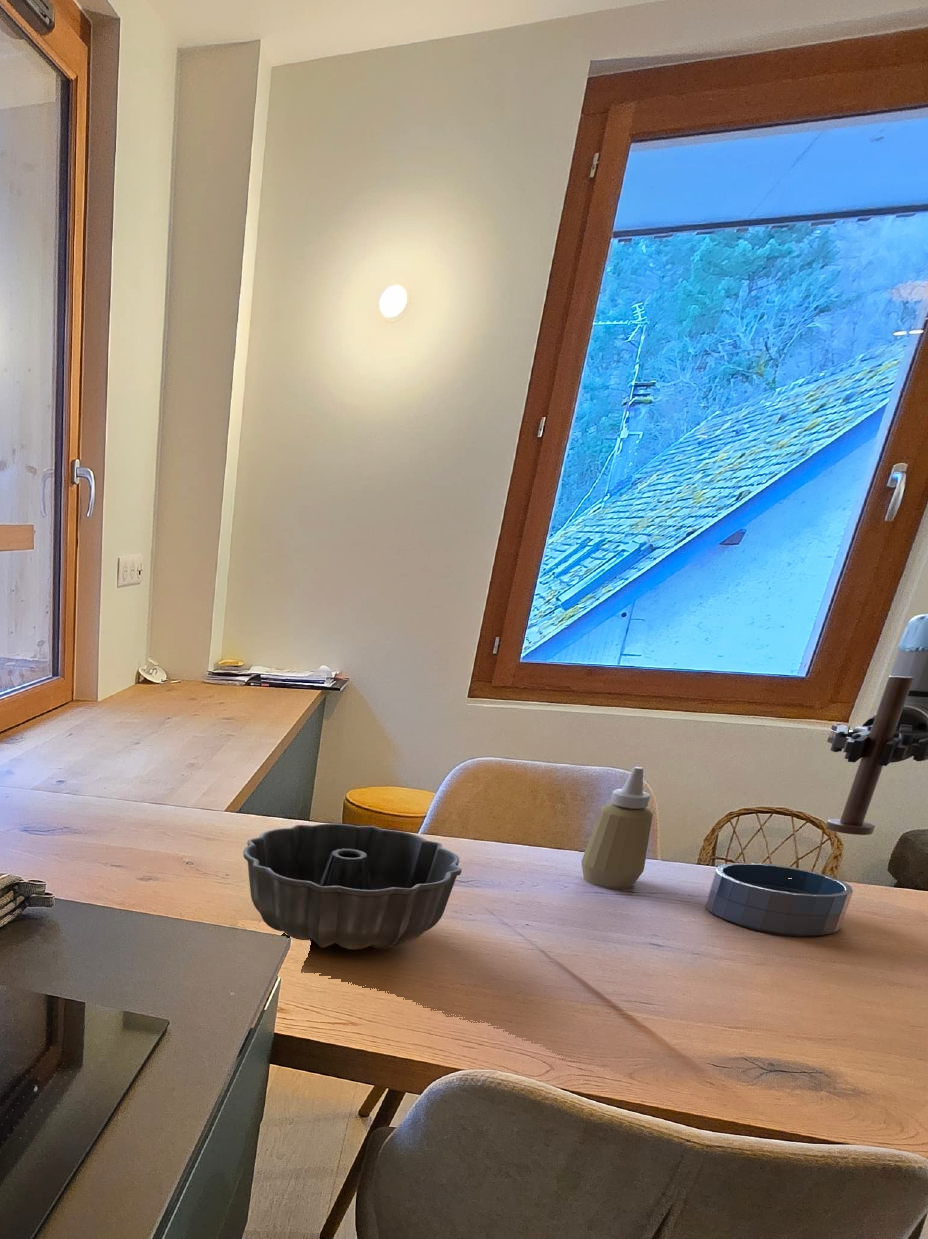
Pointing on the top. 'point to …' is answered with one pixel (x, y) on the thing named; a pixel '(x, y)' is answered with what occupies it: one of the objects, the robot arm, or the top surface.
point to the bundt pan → (349, 883)
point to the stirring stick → (872, 759)
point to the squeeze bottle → (620, 837)
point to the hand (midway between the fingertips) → (870, 753)
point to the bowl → (778, 899)
